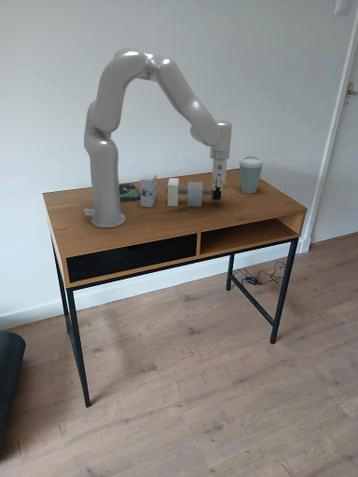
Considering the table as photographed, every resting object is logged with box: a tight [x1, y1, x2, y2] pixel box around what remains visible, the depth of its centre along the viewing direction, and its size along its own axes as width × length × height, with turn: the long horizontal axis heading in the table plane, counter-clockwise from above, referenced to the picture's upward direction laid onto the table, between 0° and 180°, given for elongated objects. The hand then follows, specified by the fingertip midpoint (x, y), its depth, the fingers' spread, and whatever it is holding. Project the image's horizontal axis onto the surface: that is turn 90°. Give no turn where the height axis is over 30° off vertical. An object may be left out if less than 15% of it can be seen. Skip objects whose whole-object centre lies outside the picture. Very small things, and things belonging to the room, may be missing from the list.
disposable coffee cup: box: [238, 155, 264, 194], centre depth 163 cm, size 11×11×15 cm
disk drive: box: [119, 183, 141, 203], centre depth 159 cm, size 10×3×15 cm
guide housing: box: [186, 181, 204, 208], centre depth 152 cm, size 6×7×8 cm
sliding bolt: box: [165, 180, 224, 204], centre depth 151 cm, size 23×5×8 cm, turn 86°
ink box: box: [139, 172, 158, 208], centre depth 150 cm, size 9×5×12 cm, turn 168°
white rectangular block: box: [167, 177, 180, 207], centre depth 152 cm, size 4×8×9 cm, turn 176°
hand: (216, 196), depth 151 cm, fingers closed on sliding bolt, 4 cm apart
